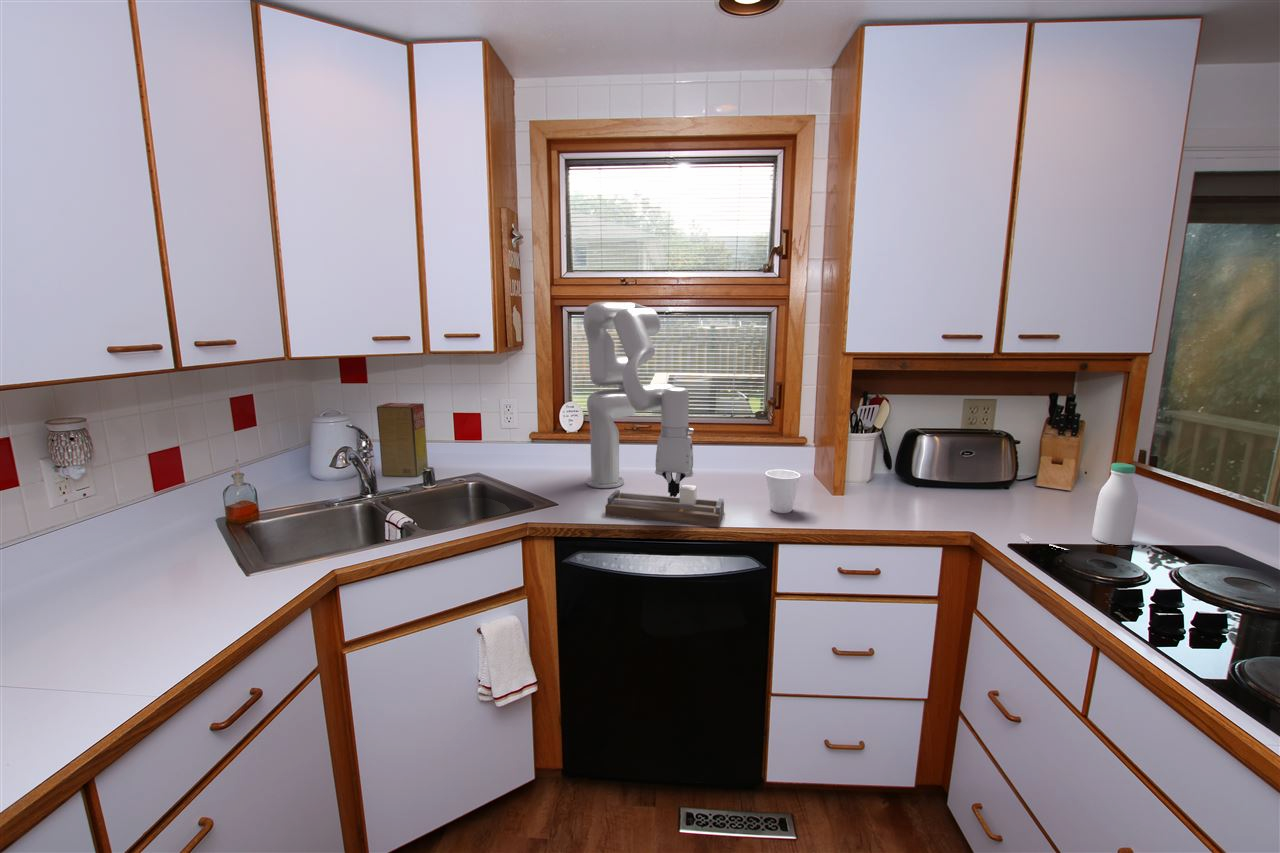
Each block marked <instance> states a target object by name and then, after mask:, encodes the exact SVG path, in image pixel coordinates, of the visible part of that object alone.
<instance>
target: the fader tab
mask: <svg viewBox="0 0 1280 853" xmlns="http://www.w3.org/2000/svg"><path fill="white" fill-rule="evenodd" d="M697 488H698V487H697V485H692V484H691V485H690V484H681V486H680V491H679V497H680V504H686V505H695V504H696V499H697V490H698V489H697Z"/></svg>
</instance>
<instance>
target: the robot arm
mask: <svg viewBox="0 0 1280 853" xmlns="http://www.w3.org/2000/svg"><path fill="white" fill-rule="evenodd" d="M582 319H583V321H582V322H583V329H584V334H585V337H586V339H587V345H588V361H589V362H588V364H589V376H590V380H591V383H592V384H593V385H595V386H598V387H608V386H618V388H615V389H613V388H612V389H603V390H597V391H594V392H592V393H590V394H589V395H588V397H587V400H586V408H587V413H588V420H589V430H590V431H589V432H590V433H589V434H590V477H588V478H587V479H586V485H587V486H589V487H590V488H591V487H592V488H596V489H614V488H618V487H620V486H622V485H624V484H625V479H624V478H623V477H621V476H620V432H619V428H618V427H617V424H615V422H614V421H613V420H614V419H619V418H626V417H630V416H631V417H632V416H634V415H635V414H636V413H637V412H640V413H648V412H656V411H660V418H661V419H660V435H658V439H657V443H656V444H657V445H656V454H655V471H654V473H655V474H656V475H658V476H660V477H663V478H664V480H666V482H667V493H669V496H670V497H678V494H680V488H681V484H680V483H681V482H682V480H683V479H685V478H691V477H693V476H694V472H693V468H694V450H693V449H694V448H693V442H692V436H691V434H692V435H693V434H694V428H691V427H690V425H689V414H690V410H689V409H690V408H689V407H690V401H689V400H690V393H689V390H688V389H687V388H685V387H680V386H674V385H673V384H671V383H657V384H656V383H654V384H652V383H651V384H642V382H641V380H640V377H639V375H638V367H640V366H642V365H644V364H645V363H647V362H649V361H650V360H651V359H652V358H653V357H654V355H655V353H656V352H655V350H656V348H655V347H654V344H653V342H652V340H651V337H653V336H655V335H657V334H658V333H659V331H660V329H661V319H660V317H659V315H658V312H657V311H655V309H653V308H650V307H648V306H644V305H642V304H639V303H636V302H630V301H629V302H627V301H598V302H597V301H596V302H593V303H591V304H589V305H588V306H587V307H586V309H585V311H584V313H583V318H582ZM607 330H615V331H616V333H617V336H618V337H619V341H620V343H621V346H622V349H623V351H624V354H625V355H618V356H617V355H616V351H615V350H616V349H615V348H616V347H615V342H614V341H615V340H614V339H613V337H612V335H610V333H609V332H608V331H607ZM673 473H675V479H674V476H673Z"/></svg>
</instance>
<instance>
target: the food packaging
mask: <svg viewBox="0 0 1280 853" xmlns="http://www.w3.org/2000/svg"><path fill="white" fill-rule="evenodd" d="M376 415H377V425H378V427H377V428H378V435H379V436H378V437H379V451H380V461H381V462H380V463H381V464H380V466H381V476H382V477H394V478H395V477H398V478H401V477H403V478H417V477H419V476H421V475H423V474H422V470H423V469H424V468H428V469H429V466H428V464H429V463H428V449H427V438H426V437H427V436H426V421H425V420H426V419H425V418H426V416H425V405H424V403H420V402H419V403H417V402H416V403H411V402H410V403H409V402H407V403H406V402H405V403H404V402H388V403H384V404H379V405H376Z"/></svg>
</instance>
